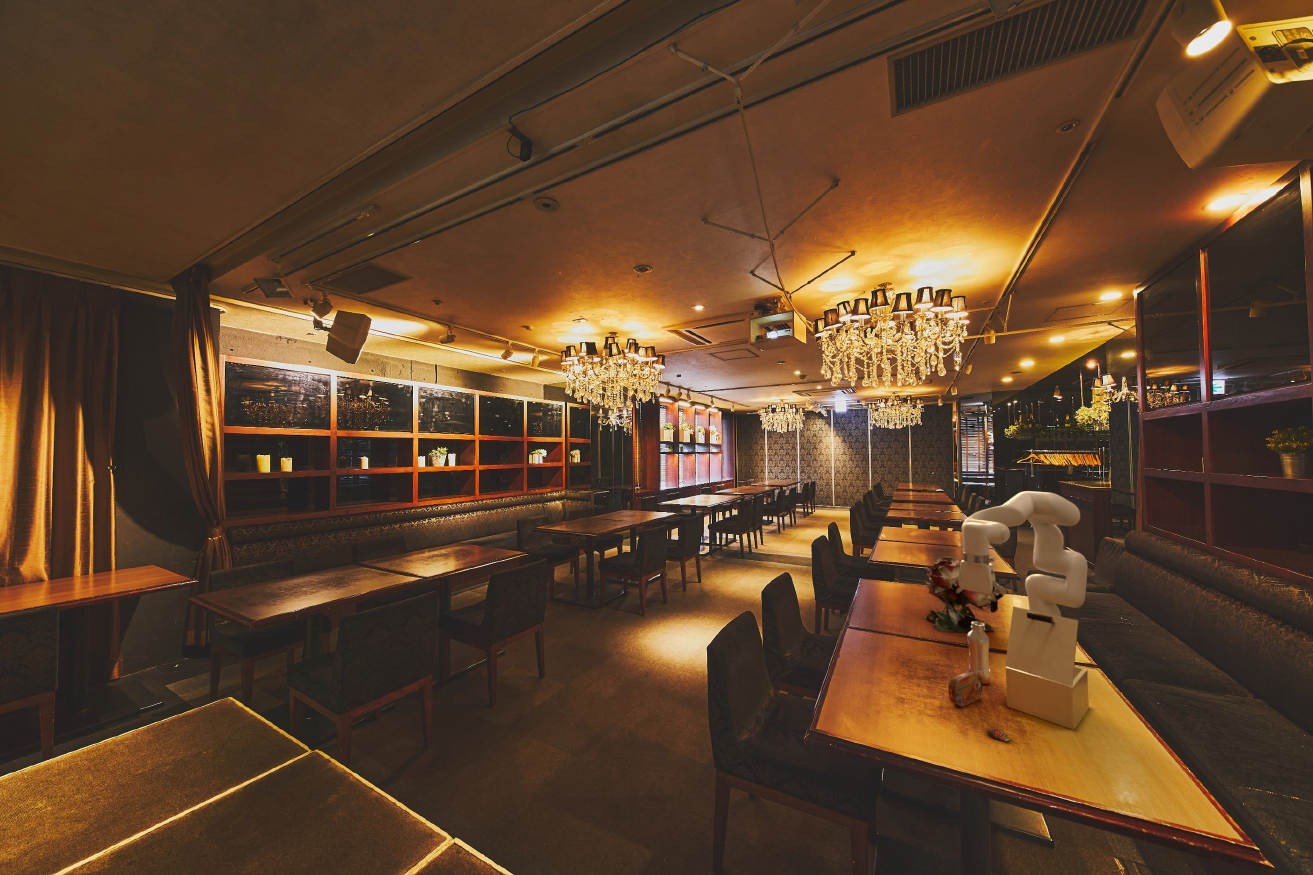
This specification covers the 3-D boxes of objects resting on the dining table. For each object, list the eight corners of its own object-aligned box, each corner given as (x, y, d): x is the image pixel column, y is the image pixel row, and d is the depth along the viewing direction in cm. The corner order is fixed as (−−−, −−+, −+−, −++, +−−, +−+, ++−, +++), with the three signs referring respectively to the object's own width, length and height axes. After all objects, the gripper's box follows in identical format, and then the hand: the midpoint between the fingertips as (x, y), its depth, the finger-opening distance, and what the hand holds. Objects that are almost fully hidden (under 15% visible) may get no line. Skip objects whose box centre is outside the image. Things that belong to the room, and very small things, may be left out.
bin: (1025, 687, 157) (1024, 651, 158) (1088, 708, 145) (1087, 669, 145) (1006, 705, 147) (1005, 667, 147) (1073, 729, 134) (1072, 687, 134)
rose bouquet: (1007, 632, 204) (1004, 563, 205) (940, 632, 205) (938, 563, 206) (968, 611, 230) (966, 550, 231) (909, 612, 230) (907, 551, 231)
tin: (956, 710, 145) (955, 682, 145) (946, 705, 147) (945, 678, 148) (984, 697, 152) (983, 671, 152) (973, 693, 154) (972, 667, 155)
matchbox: (986, 734, 132) (986, 733, 132) (992, 728, 135) (992, 726, 135) (1006, 742, 128) (1006, 741, 128) (1012, 735, 131) (1012, 734, 131)
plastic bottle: (995, 687, 158) (993, 627, 159) (973, 685, 159) (971, 626, 160) (986, 677, 164) (984, 620, 165) (964, 676, 166) (963, 619, 166)
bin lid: (1013, 607, 153) (1008, 602, 150) (1078, 620, 140) (1074, 615, 137) (1005, 666, 147) (1000, 662, 144) (1072, 686, 134) (1067, 682, 132)
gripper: (1009, 561, 158) (1010, 612, 158) (953, 552, 172) (954, 599, 172) (1001, 564, 154) (1003, 617, 153) (944, 555, 168) (945, 603, 167)
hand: (977, 608), depth 162 cm, fingers open, 9 cm apart
